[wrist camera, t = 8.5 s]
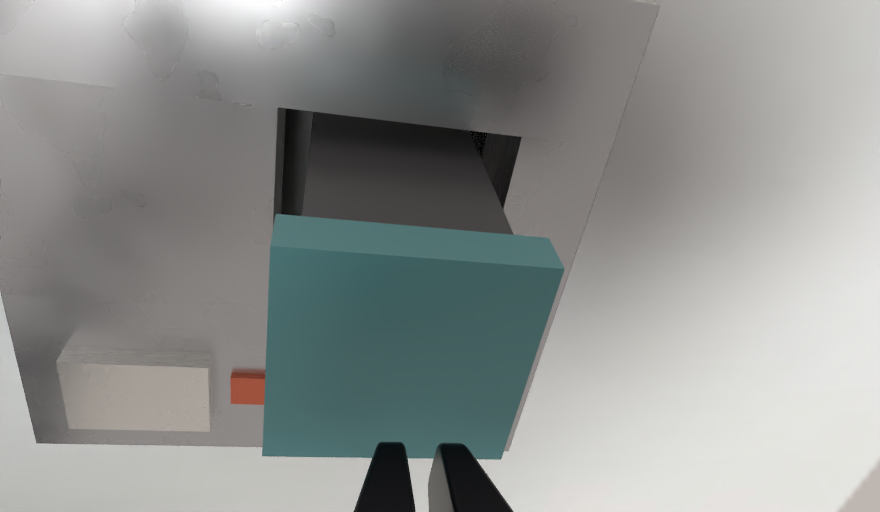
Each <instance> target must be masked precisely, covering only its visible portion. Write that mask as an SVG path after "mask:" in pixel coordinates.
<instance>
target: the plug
mask: <svg viewBox="0 0 880 512" xmlns="http://www.w3.org/2000/svg"><path fill="white" fill-rule="evenodd" d="M564 270H565V268H564V266H563V264H562V262H561V261H560V259H559V257H558V255H557V253H556V251H555V249H554V247H553V245H552V243H551V241H550V239H549V238H544V237H533V236H522V235H514V234H513V232H512V229H511V227H510V225H509V222H508V220H507V218H506V215H505V213H504V211H503V208H502V206H501V204H500V201H499V199H498V197H497V194H496V192H495V190H494V187H493V185H492V183H491V181H490V178H489V176H488V174H487V171H486V169H485V167H484V164H483V162H482V160H481V157H480V155H479V153H478V150H477V148H476V146H475V143H474V141H473V139H472V137H471V134H470V132H469V130H461V129H453V128H445V127H436V126H428V125H420V124H412V123H403V122H395V121H387V120H378V119H370V118H362V117H354V116H345V115H337V114H329V113H321V112H314V113H313V122H312V131H311V139H310V148H309V157H308V165H307V174H306V183H305V191H304V200H303V209H302V216H295V215H284V214H276V217H275V222H274V227H273V233H272V238H271V244H270V262H269V289H268V316H267V343H266V370H265V396H264V423H263V450H262V456H289V457H362V458H373V455H374V452H375V449H376V447H377V444H378V443H380V442H402V443H403V444H404V445H405V447H406V453H407V458H434V456H435V452H436V449H437V447H438V445H439V444H440V443H462V444H464V445H466V446H467V447H468V449H469V450H470V452H471V453H472V454H473V456H474V457H475V459H501V458H502V455H503V452H504V449H505V446H506V443H507V440H508V437H509V434H510V431H511V428H512V425H513V422H514V419H515V416H516V413H517V410H518V407H519V404H520V401H521V398H522V395H523V392H524V389H525V386H526V383H527V380H528V377H529V374H530V371H531V368H532V365H533V362H534V359H535V356H536V353H537V351H538V348H539V345H540V342H541V339H542V336H543V333H544V330H545V327H546V324H547V321H548V318H549V315H550V312H551V309H552V306H553V303H554V300H555V297H556V294H557V291H558V288H559V285H560V282H561V279H562V276H563V273H564Z"/></svg>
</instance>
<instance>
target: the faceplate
mask: <svg viewBox="0 0 880 512" xmlns="http://www.w3.org/2000/svg"><path fill="white" fill-rule="evenodd" d="M659 8H660V5H658V4H656V3H654V2H652V1H650V0H0V292H1V296H2V300H3V305H4V309H5V313H6V317H7V321H8V326H9V330H10V334H11V338H12V342H13V346H14V351H15V355H16V359H17V363H18V367H19V371H20V376H21V380H22V384H23V388H24V392H25V397H26V401H27V405H28V409H29V413H30V417H31V422H32V426H33V430H34V434H35V438H36V442H37V443H53V444H115V445H176V446H238V447H263V423H264V396H265V370H266V343H267V316H268V289H269V262H270V244H271V238H272V233H273V227H274V222H275V217H276V214H281V207H282V185H283V164H284V142H285V121H286V108H287V109H296V110H304V111H312V112H321V113H329V114H337V115H345V116H354V117H362V118H370V119H378V120H387V121H395V122H403V123H412V124H420V125H428V126H436V127H445V128H453V129H461V130H469V131H478V132H486V133H487V137H486V141H485V145H484V150H483V154H482V159H481V160H482V162H483V164H484V167H485V169H486V171H487V174H488V176H489V178H490V181H491V183H492V185H493V187H494V190H495V192H496V194H497V197H498V199H499V201H500V204H501V206H502V208H503V211H504V213H505V215H506V218H507V220H508V222H509V225H510V227H511V229H512V232H513V234H514V235H522V236H533V237H544V238H549V239H550V241H551V243H552V245H553V247H554V249H555V251H556V253H557V255H558V257H559V259H560V261H561V262H562V264H563V266H564V268H565V270H564V273H563V276H562V279H561V282H560V285H559V288H558V291H557V294H556V297H555V300H554V303H553V306H552V309H551V312H550V315H549V318H548V321H547V324H546V327H545V330H544V333H543V336H542V339H541V342H540V345H539V348H538V351H537V353H536V356H535V359H534V362H533V365H532V368H531V371H530V374H529V377H528V380H527V383H526V386H525V389H524V392H523V395H522V398H521V401H520V404H519V407H518V410H517V413H516V416H515V419H514V422H513V425H512V428H511V431H510V434H509V437H508V440H507V443H506V446H505V449H504V451H509V448H510V445H511V442H512V439H513V436H514V433H515V430H516V427H517V424H518V421H519V418H520V415H521V412H522V409H523V407H524V404H525V401H526V398H527V395H528V392H529V389H530V386H531V383H532V380H533V377H534V374H535V371H536V368H537V366H538V363H539V360H540V357H541V354H542V351H543V348H544V345H545V342H546V339H547V336H548V333H549V330H550V327H551V324H552V322H553V319H554V316H555V313H556V310H557V307H558V304H559V301H560V298H561V295H562V292H563V289H564V286H565V283H566V281H567V278H568V275H569V272H570V269H571V266H572V263H573V260H574V257H575V254H576V251H577V248H578V245H579V242H580V239H581V237H582V234H583V231H584V228H585V225H586V222H587V219H588V216H589V213H590V210H591V207H592V204H593V201H594V198H595V196H596V193H597V190H598V187H599V184H600V181H601V178H602V175H603V172H604V169H605V166H606V163H607V160H608V157H609V154H610V152H611V149H612V146H613V143H614V140H615V137H616V134H617V131H618V128H619V125H620V122H621V119H622V116H623V113H624V111H625V108H626V105H627V102H628V99H629V96H630V93H631V90H632V87H633V84H634V81H635V78H636V75H637V72H638V69H639V67H640V64H641V61H642V58H643V55H644V52H645V49H646V46H647V43H648V40H649V37H650V34H651V31H652V28H653V26H654V23H655V20H656V17H657V14H658V11H659Z"/></svg>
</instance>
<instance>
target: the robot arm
mask: <svg viewBox="0 0 880 512" xmlns="http://www.w3.org/2000/svg"><path fill="white" fill-rule="evenodd" d="M428 498H429V512H513V510H512V509H511V507H510V506H509V505H508V503H507V502H506V500H505V499H504V498H503V496H502V495H501V493H500V492H499V491H498V489H497V488H496V486H495V485H494V484H493V482H492V481H491V479H490V478H489V477H488V475H487V474H486V473H485V471H484V470H483V468H482V467H481V466H480V464H479V463H478V461H477V460H476V459H475V457H474V456H473V454H472V453H471V452H470V450H469V449H468V447H467V446H466V445H464V444H462V443H440V444H439V445H438V447H437V449H436V452H435V456H434V460H433V464H432V468H431V472H430V476H429V484H428ZM354 512H415V504H414V498H413V491H412V485H411V478H410V472H409V466H408V459H407V453H406V447H405V445H404V444H403V443H402V442H380V443H378V444H377V447H376V449H375V452H374V455H373V458H372V461H371V464H370V466H369V469H368V472H367V475H366V478H365V481H364V484H363V487H362V489H361V492H360V495H359V498H358V501H357V504H356V507H355V510H354Z"/></svg>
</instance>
